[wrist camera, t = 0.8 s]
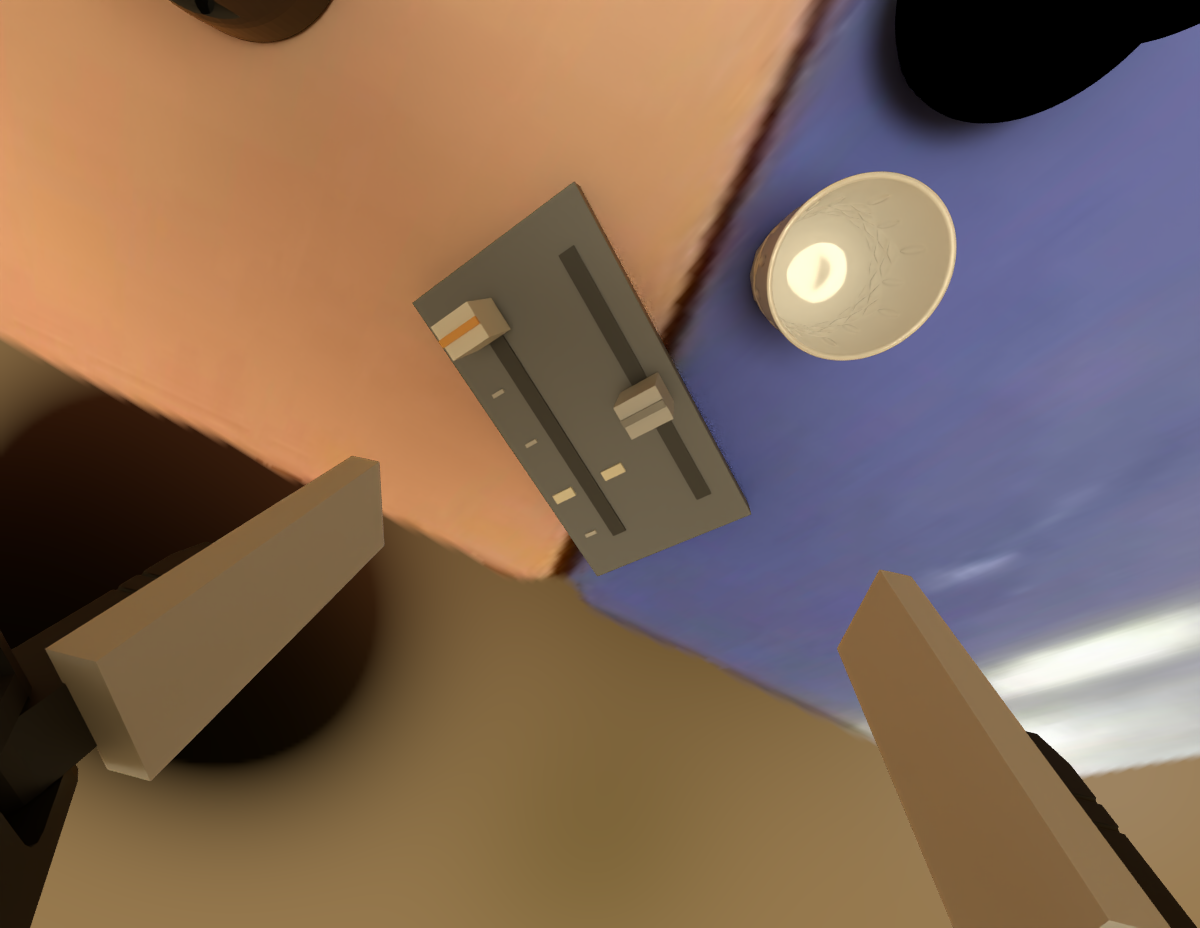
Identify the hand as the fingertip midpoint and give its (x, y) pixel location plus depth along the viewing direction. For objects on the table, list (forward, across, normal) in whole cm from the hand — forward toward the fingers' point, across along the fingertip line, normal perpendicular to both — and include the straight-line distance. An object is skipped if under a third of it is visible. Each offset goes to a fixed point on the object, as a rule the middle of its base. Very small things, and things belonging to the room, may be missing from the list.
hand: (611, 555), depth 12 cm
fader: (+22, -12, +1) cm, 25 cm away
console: (+24, -4, -4) cm, 24 cm away
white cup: (+24, +8, +8) cm, 27 cm away
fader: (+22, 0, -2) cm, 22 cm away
